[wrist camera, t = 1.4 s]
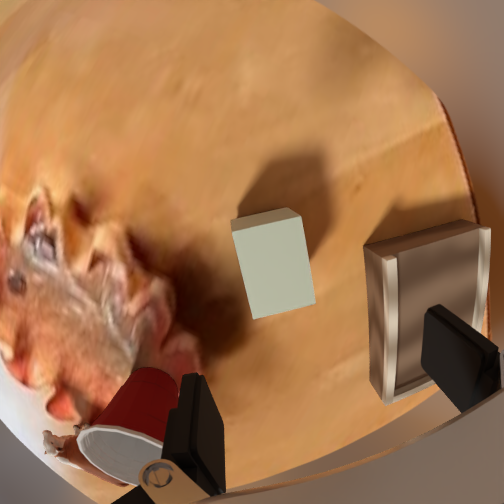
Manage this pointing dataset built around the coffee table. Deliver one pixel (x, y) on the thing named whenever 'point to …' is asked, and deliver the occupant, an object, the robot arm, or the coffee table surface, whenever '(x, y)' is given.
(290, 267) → the sage green cube
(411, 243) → the grey tray
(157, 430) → the plastic cup
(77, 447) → the bull figurine
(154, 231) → the coffee table surface
